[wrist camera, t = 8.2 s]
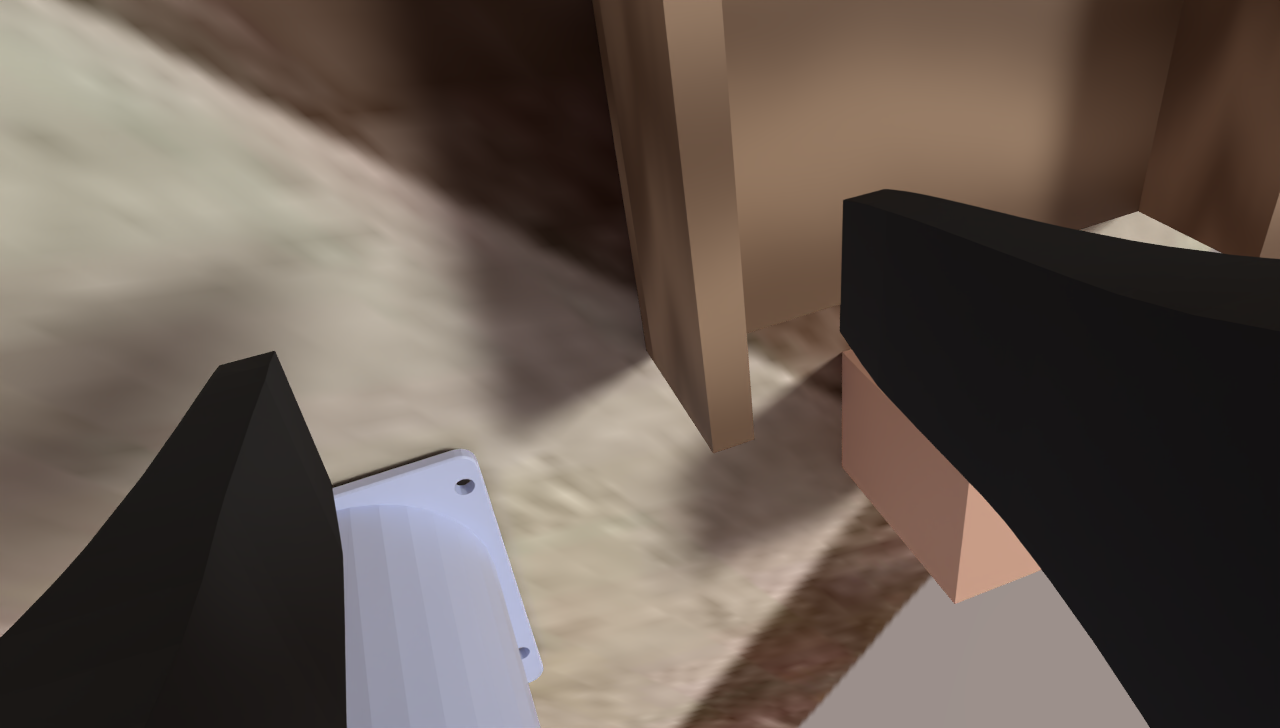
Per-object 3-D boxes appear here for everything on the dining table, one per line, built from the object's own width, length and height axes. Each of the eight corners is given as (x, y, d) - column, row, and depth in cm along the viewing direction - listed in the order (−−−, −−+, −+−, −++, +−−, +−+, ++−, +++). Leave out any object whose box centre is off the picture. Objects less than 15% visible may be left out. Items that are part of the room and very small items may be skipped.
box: (1150, 194, 26) (1286, 259, 23) (646, 350, 23) (713, 453, 20) (1288, -429, 18) (1533, -478, 15) (542, -315, 15) (624, -344, 12)
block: (963, 423, 29) (1096, 548, 25) (841, 465, 28) (954, 604, 24) (976, 308, 27) (1127, 422, 22) (841, 351, 26) (969, 480, 21)
